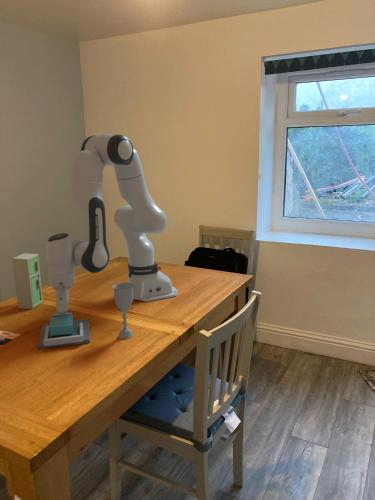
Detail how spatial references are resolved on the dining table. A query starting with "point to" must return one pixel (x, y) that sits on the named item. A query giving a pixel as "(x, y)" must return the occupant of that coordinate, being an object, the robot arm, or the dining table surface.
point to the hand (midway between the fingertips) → (64, 314)
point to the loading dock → (65, 335)
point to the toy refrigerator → (27, 280)
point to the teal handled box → (61, 324)
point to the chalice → (124, 305)
